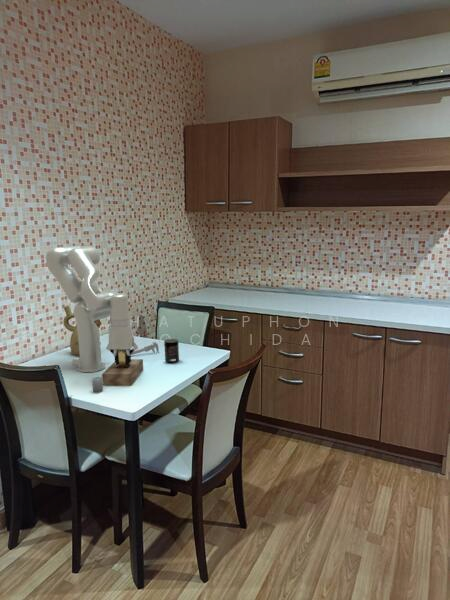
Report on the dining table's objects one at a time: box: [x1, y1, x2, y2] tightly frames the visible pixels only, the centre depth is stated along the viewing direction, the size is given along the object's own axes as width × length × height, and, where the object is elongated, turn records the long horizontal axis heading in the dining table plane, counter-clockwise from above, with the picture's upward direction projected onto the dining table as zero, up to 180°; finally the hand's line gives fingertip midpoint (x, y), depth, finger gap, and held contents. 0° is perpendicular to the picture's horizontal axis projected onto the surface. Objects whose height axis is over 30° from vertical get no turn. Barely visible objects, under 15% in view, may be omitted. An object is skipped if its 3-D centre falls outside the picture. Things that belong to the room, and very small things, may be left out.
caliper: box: [131, 341, 160, 356], centre depth 234 cm, size 20×1×6 cm, turn 114°
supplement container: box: [163, 338, 180, 365], centre depth 222 cm, size 7×7×10 cm
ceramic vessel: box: [62, 305, 102, 356], centre depth 240 cm, size 17×20×25 cm
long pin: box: [117, 350, 128, 368], centre depth 201 cm, size 4×4×10 cm
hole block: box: [101, 358, 144, 387], centre depth 202 cm, size 12×20×5 cm, turn 176°
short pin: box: [91, 376, 104, 394], centre depth 187 cm, size 4×4×5 cm
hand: (123, 363), depth 201 cm, fingers closed on long pin, 3 cm apart
